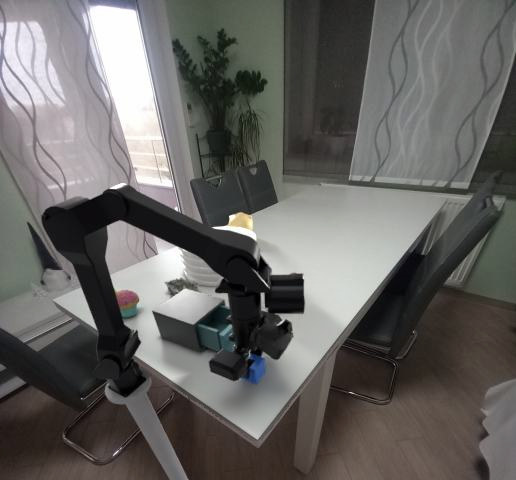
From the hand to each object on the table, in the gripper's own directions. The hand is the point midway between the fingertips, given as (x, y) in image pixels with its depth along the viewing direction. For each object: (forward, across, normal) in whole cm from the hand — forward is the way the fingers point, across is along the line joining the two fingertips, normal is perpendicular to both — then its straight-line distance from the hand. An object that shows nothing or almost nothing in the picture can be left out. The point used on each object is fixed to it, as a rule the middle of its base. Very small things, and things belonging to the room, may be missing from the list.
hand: (251, 371), depth 59 cm
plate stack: (+2, +44, +40) cm, 60 cm away
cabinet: (+2, +8, +23) cm, 25 cm away
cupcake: (+3, +6, +48) cm, 49 cm away
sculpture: (+2, +77, +52) cm, 93 cm away
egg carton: (+3, +23, +41) cm, 47 cm away
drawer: (+1, +8, +12) cm, 15 cm away
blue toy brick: (+1, 0, 0) cm, 1 cm away
